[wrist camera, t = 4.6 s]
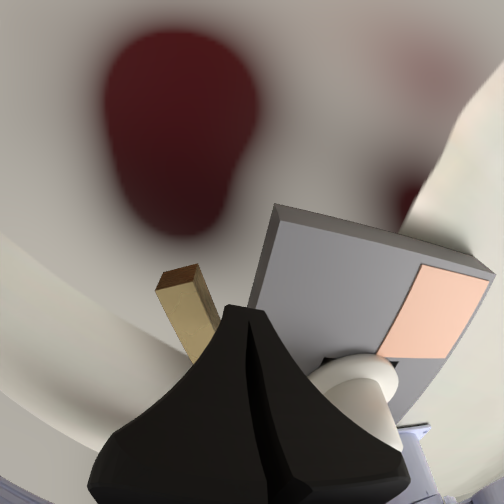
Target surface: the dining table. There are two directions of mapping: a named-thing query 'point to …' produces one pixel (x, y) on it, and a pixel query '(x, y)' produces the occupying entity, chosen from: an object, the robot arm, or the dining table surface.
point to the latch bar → (189, 308)
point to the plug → (361, 392)
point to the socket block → (366, 296)
